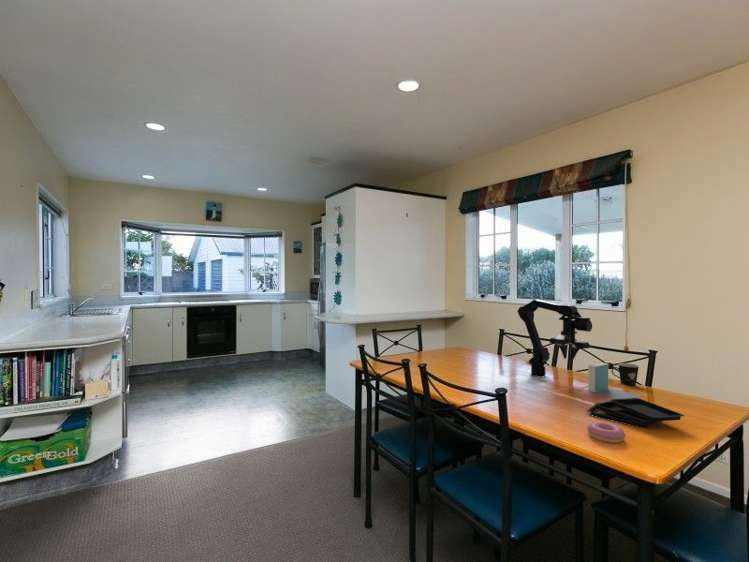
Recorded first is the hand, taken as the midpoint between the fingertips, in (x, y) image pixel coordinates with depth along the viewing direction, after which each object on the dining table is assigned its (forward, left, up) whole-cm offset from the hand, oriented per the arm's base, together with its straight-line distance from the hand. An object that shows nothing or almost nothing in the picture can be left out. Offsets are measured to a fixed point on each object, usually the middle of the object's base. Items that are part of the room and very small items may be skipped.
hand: (568, 359), depth 194 cm
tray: (+28, -40, -12) cm, 51 cm away
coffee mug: (+24, +14, -12) cm, 30 cm away
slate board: (+20, -12, -12) cm, 26 cm away
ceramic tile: (+14, -9, -11) cm, 20 cm away
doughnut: (+20, -67, -12) cm, 71 cm away
